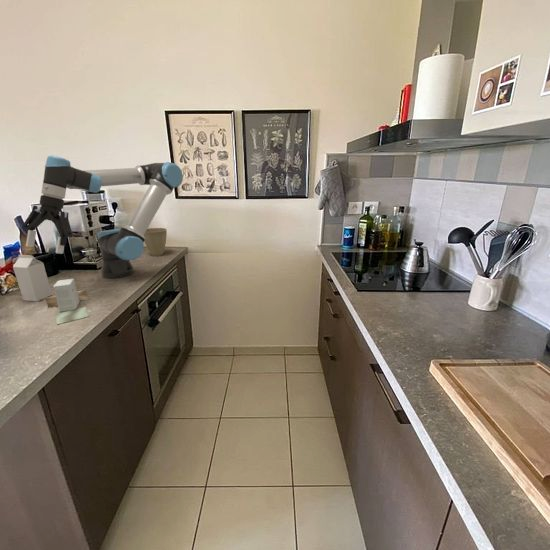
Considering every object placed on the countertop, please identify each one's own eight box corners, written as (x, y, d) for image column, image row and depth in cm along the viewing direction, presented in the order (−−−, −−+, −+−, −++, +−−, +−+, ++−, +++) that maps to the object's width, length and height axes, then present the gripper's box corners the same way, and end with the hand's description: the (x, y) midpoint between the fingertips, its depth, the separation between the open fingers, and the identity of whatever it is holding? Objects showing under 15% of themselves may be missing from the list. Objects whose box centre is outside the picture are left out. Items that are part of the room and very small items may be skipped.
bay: (88, 298, 128) (86, 289, 127) (95, 315, 113) (93, 305, 112) (48, 307, 120) (45, 297, 119) (50, 326, 105) (47, 316, 104)
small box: (64, 304, 122) (57, 280, 119) (79, 302, 124) (74, 278, 121) (59, 312, 115) (52, 286, 112) (76, 309, 117) (69, 284, 114)
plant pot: (161, 258, 184) (157, 232, 179) (139, 257, 188) (135, 231, 182) (174, 252, 198) (171, 228, 193) (154, 250, 201) (150, 227, 196)
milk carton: (37, 301, 125) (24, 258, 119) (23, 300, 126) (9, 257, 120) (52, 295, 132) (40, 253, 125) (39, 294, 133) (26, 252, 127)
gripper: (16, 189, 116) (8, 243, 117) (72, 200, 113) (63, 255, 114) (34, 193, 124) (26, 244, 125) (88, 204, 120) (79, 256, 121)
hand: (44, 250), depth 119 cm, fingers open, 13 cm apart
